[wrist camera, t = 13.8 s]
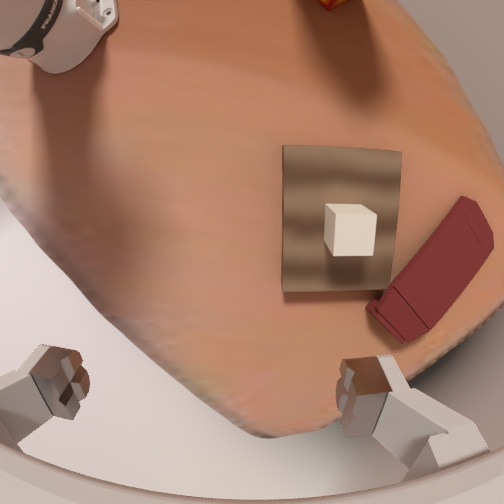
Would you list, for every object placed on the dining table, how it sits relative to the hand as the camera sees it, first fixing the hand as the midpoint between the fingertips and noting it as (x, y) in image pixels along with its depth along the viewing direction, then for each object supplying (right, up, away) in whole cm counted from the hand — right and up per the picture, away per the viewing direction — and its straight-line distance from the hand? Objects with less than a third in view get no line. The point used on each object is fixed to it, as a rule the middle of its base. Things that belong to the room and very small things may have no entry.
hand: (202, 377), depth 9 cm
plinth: (+14, +8, +35) cm, 39 cm away
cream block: (+13, +8, +32) cm, 36 cm away
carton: (+31, +1, +37) cm, 49 cm away
